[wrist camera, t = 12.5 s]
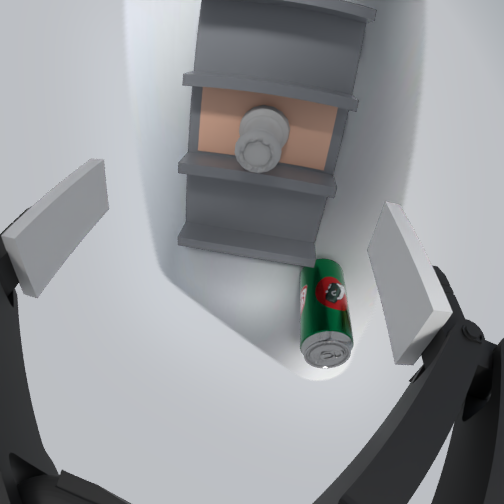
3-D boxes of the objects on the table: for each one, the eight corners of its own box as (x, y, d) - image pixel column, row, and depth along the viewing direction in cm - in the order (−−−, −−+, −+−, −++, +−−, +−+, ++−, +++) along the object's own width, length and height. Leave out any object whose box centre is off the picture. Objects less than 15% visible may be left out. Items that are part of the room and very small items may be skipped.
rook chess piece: (263, 94, 25) (254, 110, 19) (300, 127, 27) (304, 156, 20) (230, 128, 27) (210, 157, 21) (266, 160, 29) (258, 197, 23)
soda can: (294, 261, 37) (293, 345, 27) (337, 250, 35) (350, 334, 26) (306, 292, 39) (307, 374, 30) (346, 283, 38) (357, 365, 28)
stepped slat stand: (205, -9, 20) (193, -17, 17) (365, 14, 20) (376, 9, 17) (187, 225, 35) (177, 245, 32) (312, 246, 35) (313, 267, 32)
